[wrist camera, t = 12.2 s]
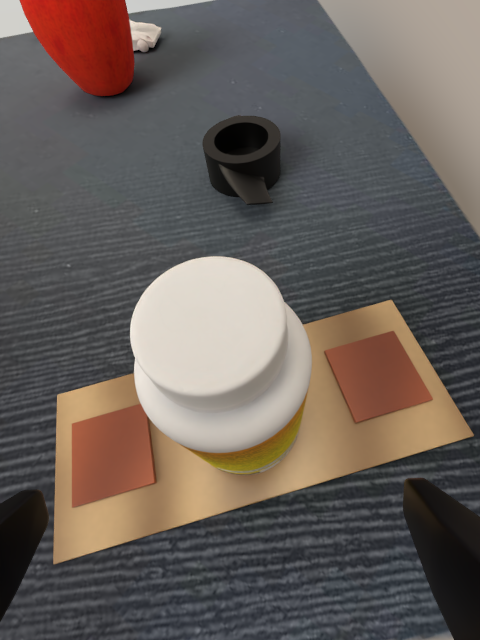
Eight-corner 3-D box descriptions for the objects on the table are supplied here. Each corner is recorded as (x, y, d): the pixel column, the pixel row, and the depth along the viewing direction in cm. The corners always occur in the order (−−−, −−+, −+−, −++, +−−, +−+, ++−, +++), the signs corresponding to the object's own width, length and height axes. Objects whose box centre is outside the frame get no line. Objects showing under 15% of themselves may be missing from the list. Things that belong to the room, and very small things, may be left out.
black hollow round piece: (308, 142, 28) (311, 106, 26) (268, 225, 24) (267, 191, 21) (225, 130, 30) (220, 96, 28) (175, 205, 26) (164, 172, 24)
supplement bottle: (322, 411, 17) (370, 302, 8) (249, 504, 15) (205, 499, 6) (241, 346, 19) (207, 205, 10) (169, 421, 17) (53, 330, 8)
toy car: (105, 40, 43) (97, 18, 41) (164, 35, 42) (158, 12, 40) (94, 57, 41) (84, 35, 39) (155, 53, 40) (149, 29, 38)
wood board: (58, 563, 15) (48, 565, 14) (61, 396, 19) (53, 393, 18) (470, 437, 16) (477, 434, 15) (389, 302, 20) (393, 296, 19)
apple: (71, 122, 34) (-8, -26, 25) (70, 82, 38) (3, -56, 29) (156, 100, 34) (109, -53, 25) (145, 63, 39) (102, -79, 29)
